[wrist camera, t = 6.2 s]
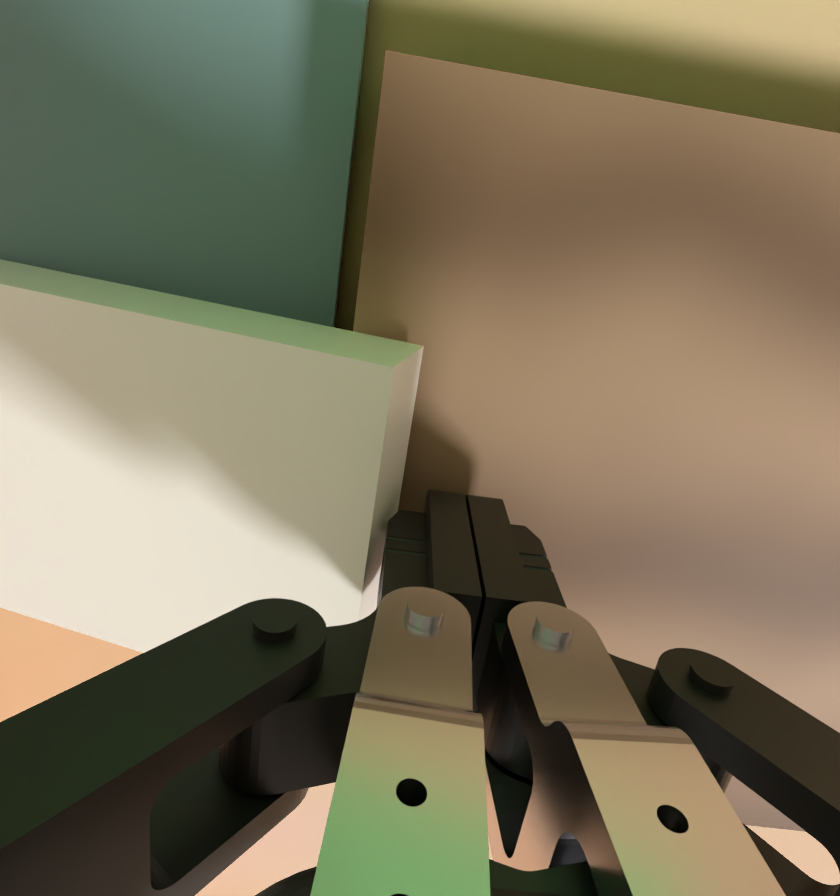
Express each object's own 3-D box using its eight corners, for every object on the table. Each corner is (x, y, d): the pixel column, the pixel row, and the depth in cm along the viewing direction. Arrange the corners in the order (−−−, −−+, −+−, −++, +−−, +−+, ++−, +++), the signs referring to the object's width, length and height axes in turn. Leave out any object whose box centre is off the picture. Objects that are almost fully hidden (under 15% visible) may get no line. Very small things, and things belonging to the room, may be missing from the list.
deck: (391, 80, 12) (385, 49, 10) (1044, 198, 13) (1181, 196, 11) (315, 702, 18) (300, 776, 16) (772, 755, 19) (823, 833, 16)
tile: (-33, 252, 13) (-135, 255, 11) (423, 345, 11) (393, 366, 9) (-2, 540, 15) (-81, 582, 14) (375, 651, 14) (344, 716, 12)
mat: (-251, -169, 11) (-275, -183, 10) (374, -48, 11) (372, -57, 11) (-121, 530, 16) (-134, 538, 15) (307, 584, 16) (305, 593, 16)
